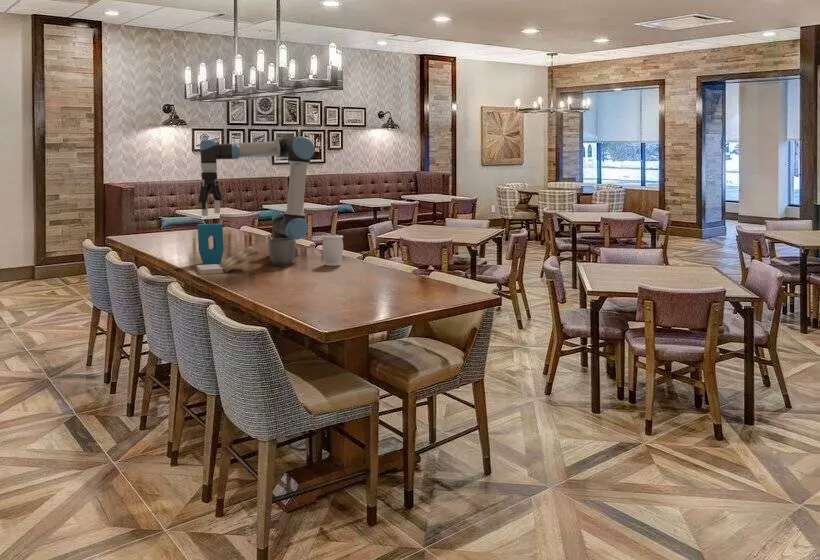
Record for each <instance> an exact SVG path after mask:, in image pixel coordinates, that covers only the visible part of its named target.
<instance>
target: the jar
mask: <svg viewBox="0 0 820 560" xmlns="http://www.w3.org/2000/svg"><path fill="white" fill-rule="evenodd" d="M343 238H344V235H340V234H324V235H322V239H323V240H322V245H321V248H322V250H321V251H322V254H323V258H324V259H323V260H324V261H325V263H324V266H326V267H329V266H330V267H338V266H342V262H341V261H342V259H343V253H344V241H343Z"/></svg>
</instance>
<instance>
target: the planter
mask: <svg viewBox="0 0 820 560" xmlns="http://www.w3.org/2000/svg"><path fill="white" fill-rule="evenodd" d="M296 242H297V240H295V239H290V238H276V239H273V238H270V239H268V240H267V247H268V255H269V259H270V261H271V262H272V263H273V264H274V266H276V267H288V266H290V265H291V263H293V261H294V260H295V257H296V256H295V247H296V248H297V246H296V245H297V244H296Z"/></svg>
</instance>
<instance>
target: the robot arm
mask: <svg viewBox="0 0 820 560" xmlns="http://www.w3.org/2000/svg"><path fill="white" fill-rule="evenodd" d="M199 152H200V154H199V155H200V170H201V180H202V181H201V182H200V190H199V197H198V202H199V203H200V204H201V217H208V216H209V211H208V202H207V200H208V197H209V195H210V192H211V194H212V196H213V199H214V200H213V207H214V208H213V209H214V214H221V202H220V201H222V197H223V196H222V193H221V190H220V186H219V181H218V180H217V179H218V168H217V167H218V166H217V164H218V163H217V160H238V159H240V158H241V159H242V158H255V157H256V158H257V157H259V158H260V157H271V156H272V157H273V156H274V157H275V158H286V159H287V162H288V163H289V165H290V166H289V168H290V169H289V178H288V179H289V180H288V188H287V190H288V192H287V203H286V204H287V205H286V210H285V211H284V212H283V213H277V214H276V213H275V214H273V215H271V216H272V217H271V224H272V225H271V228H272V229H271V231H272V232H271V233H272V239H276V238H290V239H295V240H296V241H297V240H300V239H303V238H304V237H305V236H306V235H307V233H308V230H309V227H308V226H309V225H308V223H307V221H306V216H307V215H306V214H305V212H304V203H305V201H304V200H305V193H306V192H305V190H306V178H307V168H308V166H309V165H310V164H311V158H312V157H313V156H314V154H315V145H314V143H313V141H312V139H310V138H309V137H306V136H301V135H300V136H288V137H284V138H283V137H282V138H278V139H277V138H276V139H274V140H273V141H271V140H270V141H255V142H235V143H233V142H232V143H217V142H216V140H214V139H212V140H211V139H207V140H206V139H202V140H200V143H199ZM203 180H204V181H203ZM298 255H299V253H298V248H297V246H296V247H295V257H297V256H298Z"/></svg>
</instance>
